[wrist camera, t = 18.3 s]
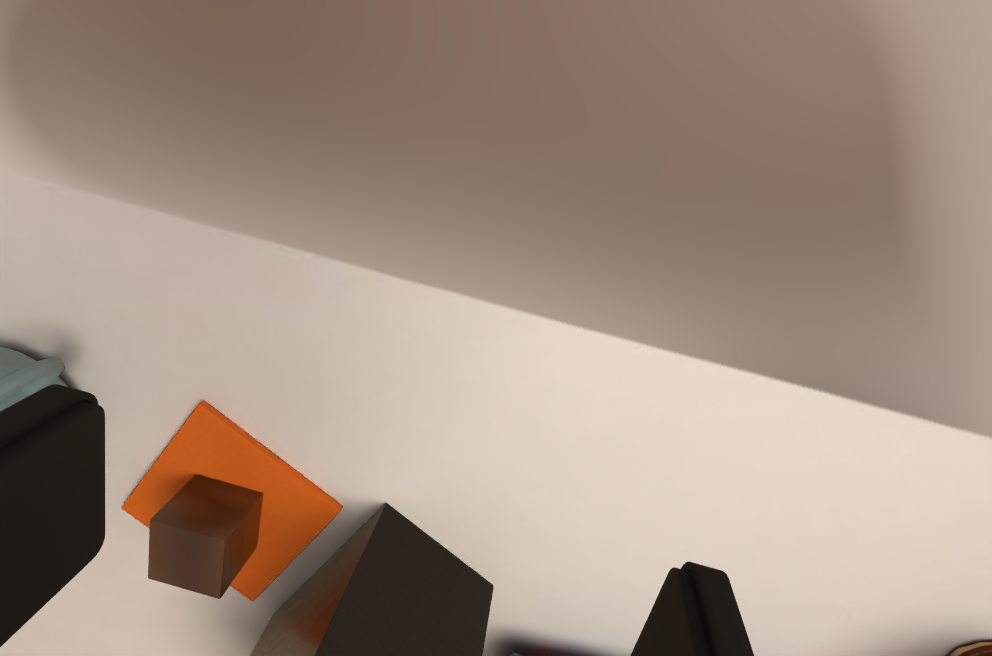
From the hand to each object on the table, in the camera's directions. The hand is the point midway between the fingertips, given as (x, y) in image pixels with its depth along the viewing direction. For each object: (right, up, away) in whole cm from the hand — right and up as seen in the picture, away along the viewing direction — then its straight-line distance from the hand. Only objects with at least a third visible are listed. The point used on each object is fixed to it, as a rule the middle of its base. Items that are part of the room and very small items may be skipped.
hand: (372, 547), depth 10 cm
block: (-17, -10, +33) cm, 39 cm away
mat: (-17, -9, +34) cm, 39 cm away
